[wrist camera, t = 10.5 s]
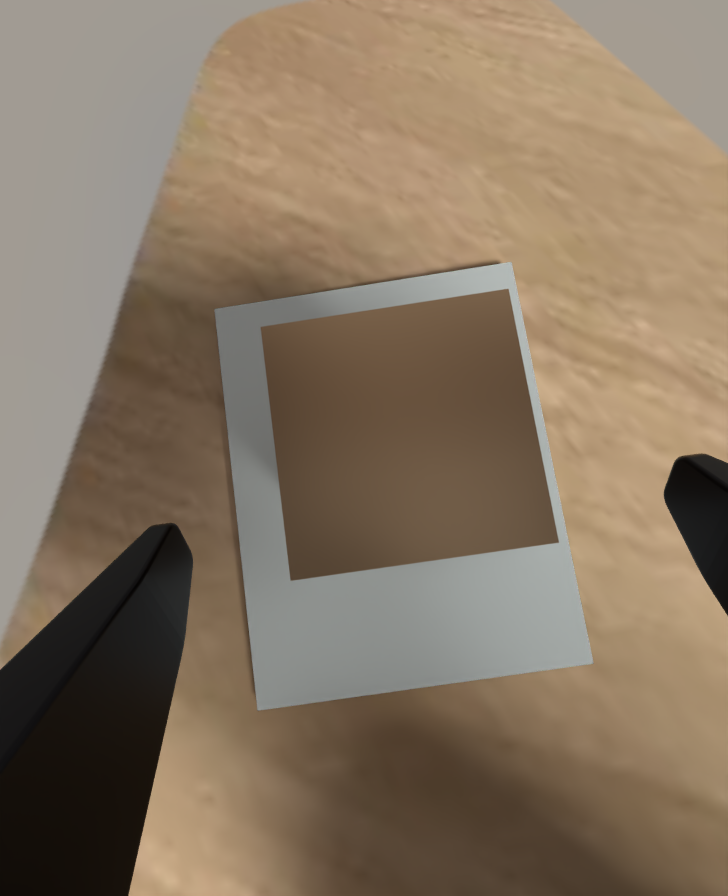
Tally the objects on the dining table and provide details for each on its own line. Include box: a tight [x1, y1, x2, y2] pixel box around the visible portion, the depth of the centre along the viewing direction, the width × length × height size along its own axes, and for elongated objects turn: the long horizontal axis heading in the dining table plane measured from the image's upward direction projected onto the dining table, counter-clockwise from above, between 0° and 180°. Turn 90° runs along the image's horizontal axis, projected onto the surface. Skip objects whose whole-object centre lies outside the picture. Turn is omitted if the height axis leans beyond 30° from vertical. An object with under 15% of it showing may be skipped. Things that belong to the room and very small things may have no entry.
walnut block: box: [261, 289, 559, 581], centre depth 12 cm, size 4×4×9 cm
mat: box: [214, 262, 594, 711], centre depth 16 cm, size 14×11×1 cm
